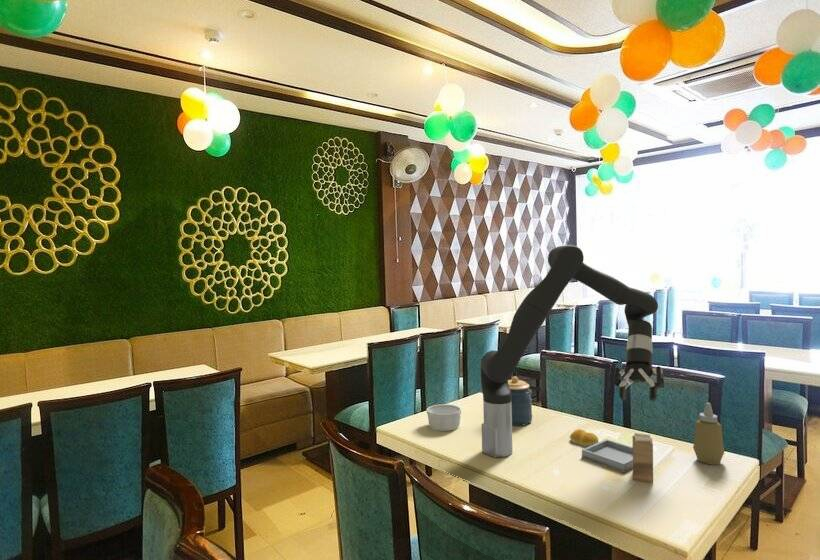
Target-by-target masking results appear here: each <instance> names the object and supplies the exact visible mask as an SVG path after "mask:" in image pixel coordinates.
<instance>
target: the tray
mask: <svg viewBox="0 0 820 560" xmlns="http://www.w3.org/2000/svg"><path fill="white" fill-rule="evenodd" d="M581 458H582V459H586V460H589V461H590V462H594V463H596V464H600V465H602V466H605V467H607V468H610V469H613V470H616V471H619V472H622V473H626V472H628V471H630V470H631V469H632V470H633V446H631V445H628V444H627V445H626V444H624V443H621V442H617V441H615V440H610V439H607V438H606V439H604V440H601V441H598V443H596V444H594V445H592V446H586V447H585V448H582V449H581Z"/></svg>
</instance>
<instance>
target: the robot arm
mask: <svg viewBox="0 0 820 560" xmlns="http://www.w3.org/2000/svg"><path fill="white" fill-rule="evenodd" d="M547 263H548V265H549V267H550V269H549V271H548V272H547V274H546V276H545V277H543V279H542V280H541V281H540V282H539V283H538V284H537V285H536V286H535V287H533V289H531V291H529V293H528V294H527V295H526V296H525V298H523V300H522V302H521V303H520V304H519V306H518V308H517V309H516V310H515V313H514V314H513V317H512V320H511V324H510V328H509V331H508V334H507V336H506V338H505V340H504V341H503V343H502V345H501V346H500V347H499V348H498V350H490V351H489V350H488V351H487V352H486V353H485V354H484V355H483V356H482V358H481V361H480V383H481V384H480V386H481V392H482V397H483V398H482V400H483V401H482V403H483V405H482V406H483V423H481V453H482V454H483V453H484V454H486V455H488V456H489V457H490V456H491V457H493V458H495V459H497V458H502V457H503V458H505V457H508V456H511V455H512V454H513V425H512V397H511V391H510V389H509V385H508V380H510V378H512V377H513V374H514V373H515V371H516V369H517V366H518V364H519V362H520V361H521V359H522V357H523V354H524V353H525V352H526V349H527V348H528V346H529V345H530V343H531V342H532V340H533V339H534V337H535V336H536V334H537V333H538V331H539V330H540V328H541V327H542V325H543V324H544V322H545V321H546V319H547V317H548V316H549V314H550V312H551V310H552V309H553V307H554V306H555V305H556V303H557V301H558V299H559V297H560V296H561V294H562V293H563V291H564V290H565V288H566V287H567V286H568V284H570V282H571V280H572V279H574V280H576V281H578V282H579V283H581V284H583V285H585V286H586V287H588V288H590V289H592V290H593V291H595V292H597V293H598V294H600V295H601V296H603V297H604V298H606V299H607V300H610V301H611V302H612V303H614V304H616V305H618V306H624V305H625V306H624V315H625V319H626V322H627V326H628V333H627V342H626V351H625V352H626V358H625V367H624V368H619V367H615V369H614V370H615V371H614V378H613V385H614V386H615V387H617V388H618V389H619V392H618V393H619V398H620V399H621V400H622V401H623V402H625V401H627V388H628V387H629V386H631V385H632V384H633V383H645V382H647V383H648V384H649V385H650V387H649V401H650V402H655V400H657V398H658V389H661V388H664V387H665V377H664V370H663V369H662V367H660V366H656V367H653V352H654V349H653V338H652V337H653V327H652V324H651V322H649V321H647V320H644V318H645V317H648V316H650V315H654V314H655V313H656V312H657V310H659V309H658V308H659V303H658V301H657V299H656V298H655V297H654V296H653V295H652V294H650V293H648V292H646V291H643V290H640V289H638V288H635V287H630V286H628V285H626V284H625V283H624V282H622V281H620V280H619V279H618V278H615V277H613V276H612V275H609V274H607V273H605V272H603V271H600V270H598V269H595V268H593V267H591V266H589V265H587V264H586V263H585V262H584V254H583V251H582V249H581V248H580V247H578V246H576V245H571V244H566V245H560V246H557V247H554V248H553V249H551V250H550V251H549V253H548V255H547ZM624 374H626V375H625V376H624ZM653 374H655V375H656V382H654V380H653V379H652V378H651V376H652V375H653ZM623 376H624V377H623ZM622 377H623V378H622Z"/></svg>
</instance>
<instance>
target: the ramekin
mask: <svg viewBox="0 0 820 560" xmlns="http://www.w3.org/2000/svg"><path fill="white" fill-rule="evenodd" d="M461 414H462V408H461V407H460V406H458V405H455V404H448V403H447V404H446V403H445V404H444V403H441V404H435V405H431V406H428V407H427V408H426V415H427V419H428V425H429V427H430V428H431V429H432V430H433V429H434V430H433V431H436V430H439V431H438V432H450V431H449V430H452V431H454V430H453V429H455V430H457V429H458V428H459V427H460V424H461V423H460V422H461ZM456 428H457V429H456Z"/></svg>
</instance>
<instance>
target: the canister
mask: <svg viewBox="0 0 820 560" xmlns="http://www.w3.org/2000/svg"><path fill="white" fill-rule="evenodd" d="M508 385H509V389H510V391H511V397H512V426H524V425H523V424H527V425H529V424H531V423H532V422H531V421H533V412H532V405H533V404H532V402H533V399H532V396H531V395H532V394H533V393H532V392H533V391H532V390H531V389H530V384H529V383H527V381H524V380H520V379H519V378H518V376H513V375H512V376H511V379H508ZM530 422H531V423H530ZM528 423H529V424H528Z"/></svg>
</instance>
